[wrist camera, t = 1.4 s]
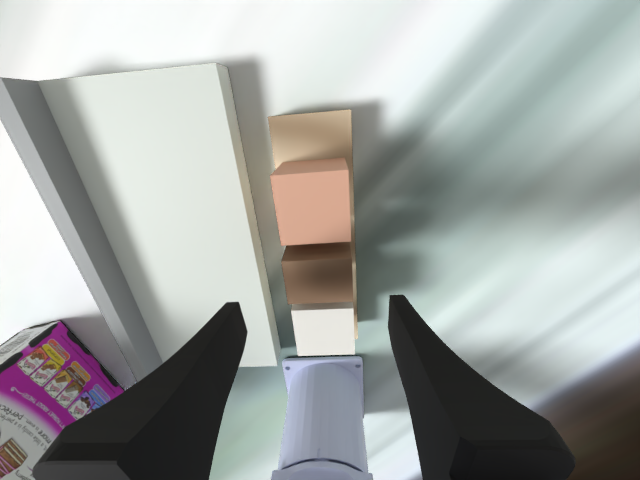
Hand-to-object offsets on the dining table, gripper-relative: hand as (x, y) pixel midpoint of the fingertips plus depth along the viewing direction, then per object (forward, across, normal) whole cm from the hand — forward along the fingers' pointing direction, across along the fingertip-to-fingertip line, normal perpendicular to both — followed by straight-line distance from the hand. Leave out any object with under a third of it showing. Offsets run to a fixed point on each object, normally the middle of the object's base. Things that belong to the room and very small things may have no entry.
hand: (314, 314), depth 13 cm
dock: (+10, +11, +1) cm, 15 cm away
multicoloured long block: (+10, 0, +1) cm, 10 cm away
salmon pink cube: (+8, 0, -3) cm, 9 cm away
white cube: (+7, 0, +5) cm, 9 cm away
